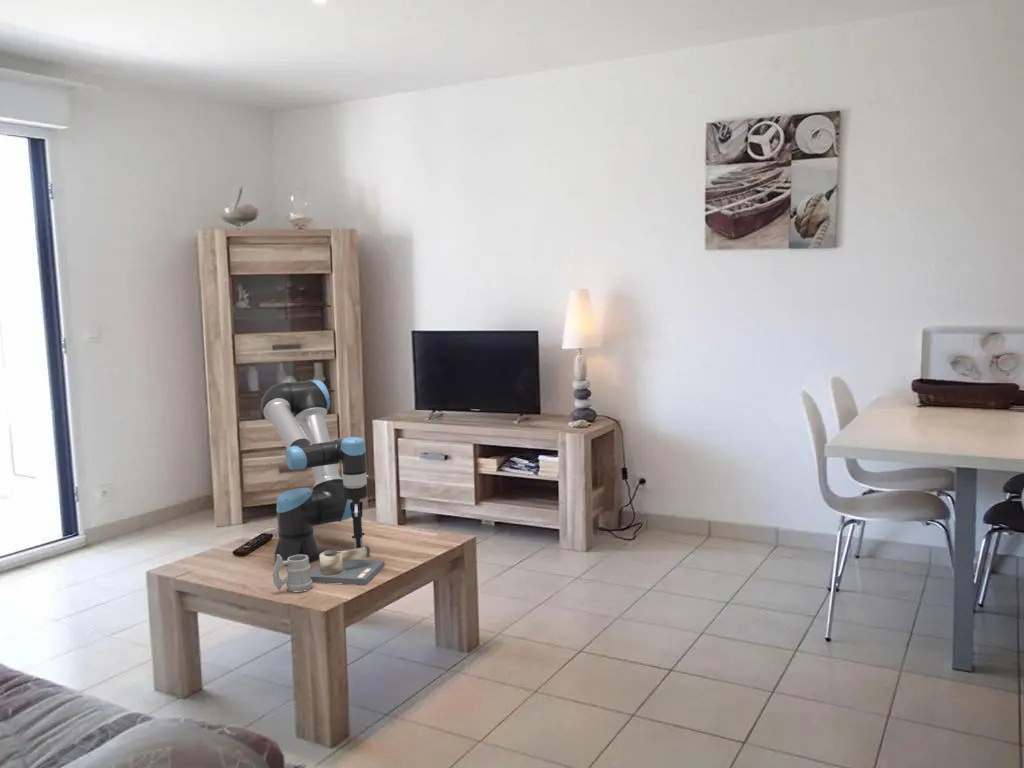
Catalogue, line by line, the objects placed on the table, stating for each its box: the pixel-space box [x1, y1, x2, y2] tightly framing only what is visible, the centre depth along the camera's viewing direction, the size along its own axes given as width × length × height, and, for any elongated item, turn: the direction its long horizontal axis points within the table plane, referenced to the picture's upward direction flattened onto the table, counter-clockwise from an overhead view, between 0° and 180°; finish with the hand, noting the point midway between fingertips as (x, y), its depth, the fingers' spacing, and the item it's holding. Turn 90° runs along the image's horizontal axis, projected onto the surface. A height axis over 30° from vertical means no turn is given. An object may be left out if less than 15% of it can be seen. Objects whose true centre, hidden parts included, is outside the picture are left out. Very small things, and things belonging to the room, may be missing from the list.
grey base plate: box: [310, 559, 385, 586], centre depth 273 cm, size 20×17×2 cm
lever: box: [319, 545, 371, 575], centre depth 271 cm, size 16×7×7 cm, turn 118°
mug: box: [272, 554, 313, 593], centre depth 260 cm, size 8×12×12 cm, turn 119°
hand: (359, 556), depth 277 cm, fingers closed
